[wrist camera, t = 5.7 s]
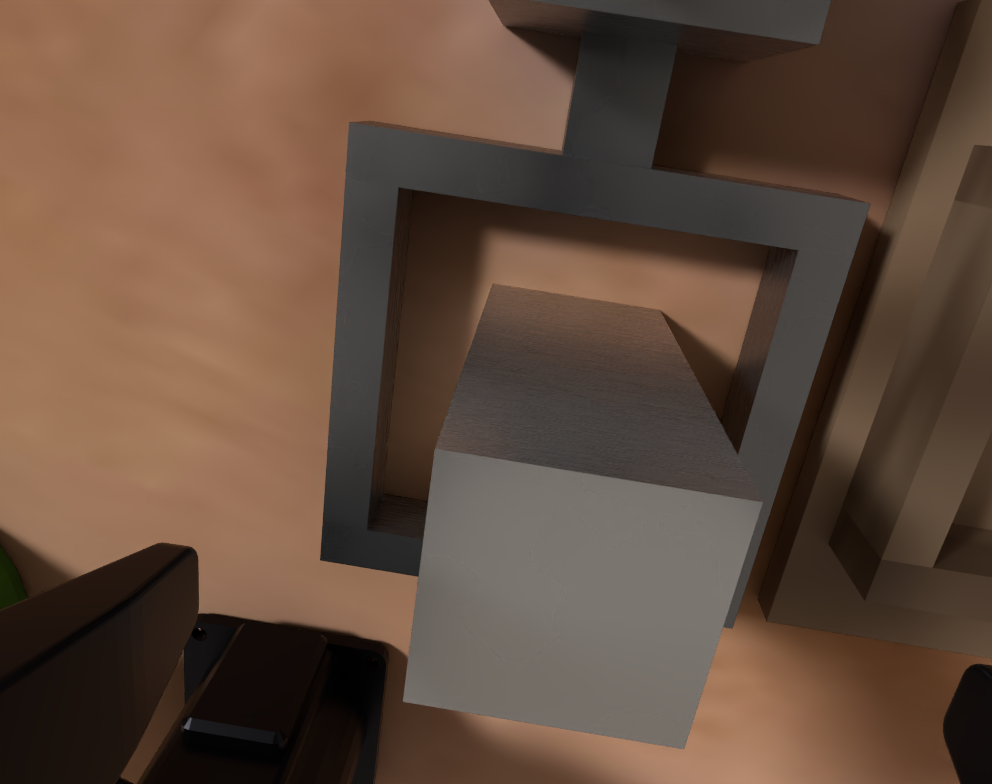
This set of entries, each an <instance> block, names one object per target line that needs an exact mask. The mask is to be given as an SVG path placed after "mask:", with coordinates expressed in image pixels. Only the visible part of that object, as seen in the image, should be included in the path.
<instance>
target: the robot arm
mask: <svg viewBox="0 0 992 784" xmlns="http://www.w3.org/2000/svg"><path fill="white" fill-rule="evenodd" d="M198 610H199V572H198V556H197V552H196V551H195V550H194V549H193V548H192V547H189V546H183V545H176V544H169V543H157V544H155V545H152V546H150V547H148V548H145V549H143V550H141V551H138V552H136V553H133V554H131V555H129V556H126V557H124V558H122V559H119V560H117V561H115V562H112V563H110V564H108V565H105V566H103V567H100V568H98V569H96V570H93V571H91V572H89V573H86V574H84V575H82V576H79V577H77V578H75V579H72V580H70V581H67V582H65V583H63V584H60V585H58V586H56V587H53V588H51V589H49V590H46V591H44V592H42V593H39V594H37V595H34V596H32V597H30V598H27V599H25V600H23V601H20V602H18V603H16V604H13V605H11V606H8V607H6V608H4V609H1V610H0V784H133V783H131V782H129V781H127V780H125V779H123V778H121V777H120V775H121V774H122V772H123V770H124V769H125V767H126V765H127V763H128V762H129V760H130V758H131V757H132V755H133V753H134V751H135V750H136V748H137V746H138V744H139V742H140V740H141V738H142V736H143V734H144V732H145V730H146V728H147V726H148V724H149V722H150V720H151V718H152V715H153V713H154V711H155V709H156V707H157V705H158V703H159V701H160V698H161V696H162V694H163V692H164V690H165V688H166V686H167V684H168V681H169V679H170V677H171V675H172V673H173V671H174V669H175V667H176V664H177V662H178V660H179V658H180V656H181V654H182V652H183V650H184V680H185V706H184V708H183V710H182V711H181V713H180V714H179V716H178V718H177V719H176V721H175V723H174V724H173V726H172V727H171V729H170V731H169V732H168V734H167V736H166V737H165V739H164V740H163V742H162V744H161V745H160V747H159V748H158V750H157V752H156V753H155V755H154V757H153V758H152V760H151V761H150V763H149V765H148V766H147V768H146V770H145V771H144V773H143V774H142V776H141V778H140V779H139V781H138V782H137V784H374V783H375V776H376V768H377V759H378V750H379V741H380V732H381V724H382V715H383V706H384V697H385V688H386V680H387V671H388V662H389V653H388V651H387V649H386V647H384V646H383V645H382V644H379V643H376V642H372V641H366V640H360V639H354V638H348V637H342V636H336V635H330V634H324V633H318V632H312V631H306V630H300V629H294V628H288V627H282V626H276V625H270V624H264V623H258V622H252V621H246V620H240V619H234V618H228V617H222V616H216V615H210V614H198ZM198 628H201V629H203V630H204V631H205V632H206V633H204V632H202V631H200V630H199V629H198ZM367 657H373V658H376V659H377V661H372V660H370V659H368V658H367ZM943 734H944V739H945V743H946V746H947V748H948V751H949V754H950V757H951V759H952V762H953V765H954V768H955V770H956V773H957V776H958V779H959V781H960V784H992V666H991V665H984V664H974V665H971V666H970V667H969V668H967V669H966V670H965V672H964V674H963V676H962V678H961V681H960V683H959V685H958V687H957V690H956V692H955V694H954V696H953V698H952V701H951V703H950V705H949V707H948V710H947V712H946V714H945V717H944V722H943Z"/></svg>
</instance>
